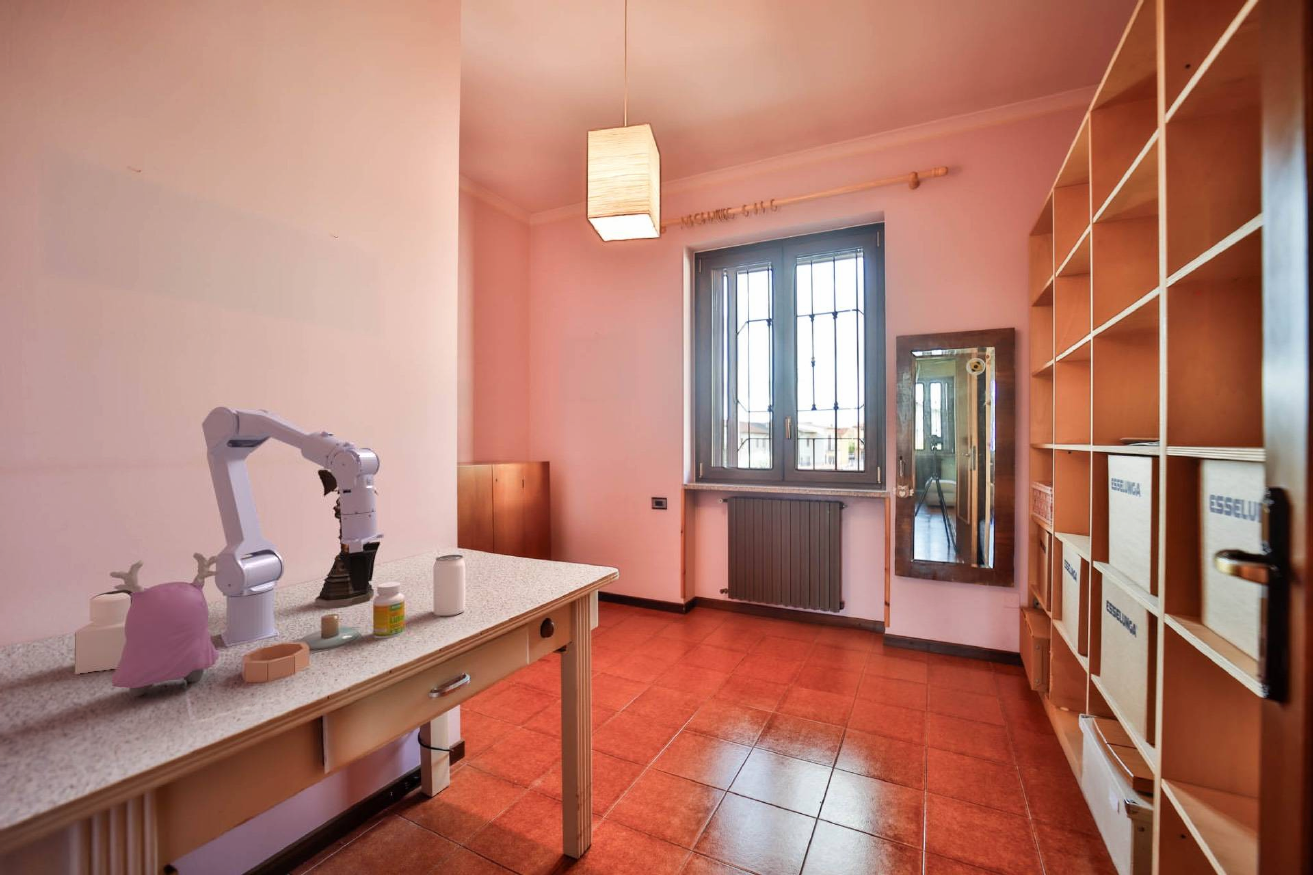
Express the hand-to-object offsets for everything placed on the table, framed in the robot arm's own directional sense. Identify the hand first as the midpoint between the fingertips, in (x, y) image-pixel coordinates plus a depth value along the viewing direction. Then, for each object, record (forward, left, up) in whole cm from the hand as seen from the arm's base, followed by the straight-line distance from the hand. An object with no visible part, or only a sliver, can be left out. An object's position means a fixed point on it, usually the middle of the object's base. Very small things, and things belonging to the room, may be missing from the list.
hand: (363, 585), depth 97 cm
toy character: (-1, -26, -11) cm, 29 cm away
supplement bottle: (-1, +5, -11) cm, 12 cm away
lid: (-5, -4, -10) cm, 12 cm away
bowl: (+4, -14, -11) cm, 18 cm away
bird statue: (-36, +6, -11) cm, 38 cm away
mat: (-5, -4, -11) cm, 12 cm away
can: (-6, +19, -11) cm, 22 cm away
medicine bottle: (-21, -32, -11) cm, 40 cm away
